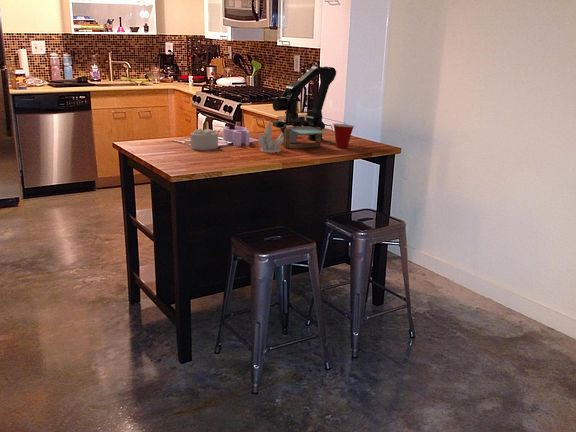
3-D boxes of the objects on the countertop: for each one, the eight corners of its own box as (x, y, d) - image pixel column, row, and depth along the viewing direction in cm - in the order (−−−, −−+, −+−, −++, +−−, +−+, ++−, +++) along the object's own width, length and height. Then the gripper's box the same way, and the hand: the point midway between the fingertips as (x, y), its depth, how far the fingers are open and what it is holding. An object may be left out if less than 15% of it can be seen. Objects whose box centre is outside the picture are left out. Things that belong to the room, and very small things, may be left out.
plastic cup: (355, 147, 289) (357, 123, 285) (348, 150, 279) (350, 126, 276) (335, 144, 293) (337, 121, 289) (328, 147, 284) (330, 124, 280)
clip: (255, 145, 282) (255, 132, 279) (232, 146, 276) (232, 133, 274) (241, 138, 299) (241, 125, 296) (219, 139, 293) (219, 126, 291)
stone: (292, 140, 298) (292, 131, 296) (296, 142, 294) (296, 133, 292) (283, 141, 296) (284, 131, 294) (287, 143, 291) (288, 133, 290)
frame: (283, 147, 279) (284, 128, 276) (318, 145, 288) (319, 127, 285) (285, 148, 278) (286, 129, 275) (320, 146, 286) (321, 128, 283)
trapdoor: (286, 133, 282) (286, 126, 281) (310, 132, 288) (310, 126, 287) (300, 139, 269) (300, 132, 267) (325, 138, 275) (326, 131, 273)
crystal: (288, 151, 271) (289, 120, 266) (264, 153, 264) (265, 122, 259) (278, 147, 279) (279, 117, 274) (254, 149, 272) (255, 118, 267)
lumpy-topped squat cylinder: (220, 148, 271) (220, 130, 269) (197, 150, 263) (197, 132, 260) (208, 144, 279) (208, 127, 276) (186, 147, 271) (185, 129, 268)
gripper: (282, 112, 279) (280, 143, 283) (314, 112, 287) (312, 142, 291) (272, 109, 288) (271, 139, 293) (304, 109, 296) (303, 138, 301)
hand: (290, 139), depth 294 cm, fingers closed on stone, 5 cm apart
